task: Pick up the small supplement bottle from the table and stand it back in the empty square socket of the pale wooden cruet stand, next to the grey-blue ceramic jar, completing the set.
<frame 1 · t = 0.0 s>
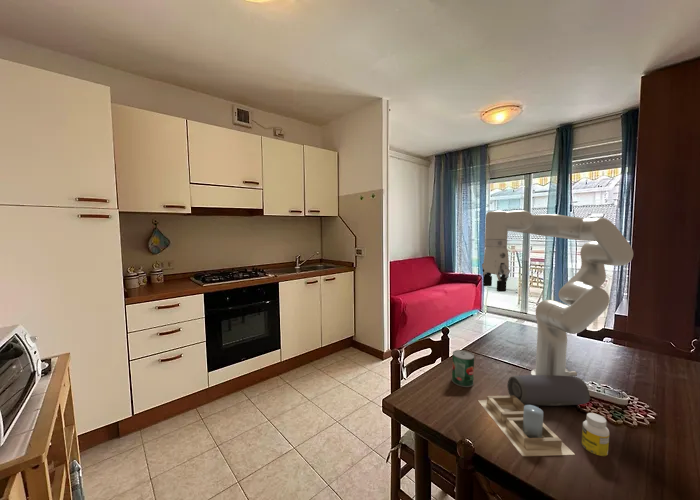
hand: (494, 288, 109), 37 cm above the table, tool pointing down, fingers open, 9 cm apart
canned tomato: (462, 382, 111), on the table
bluetooth speaker: (545, 405, 96), on the table, touching cruet stand
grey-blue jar: (532, 437, 80), point 1 cm above the table, touching cruet stand
cruet stand: (519, 427, 86), on the table
supplement bottle: (594, 452, 76), on the table
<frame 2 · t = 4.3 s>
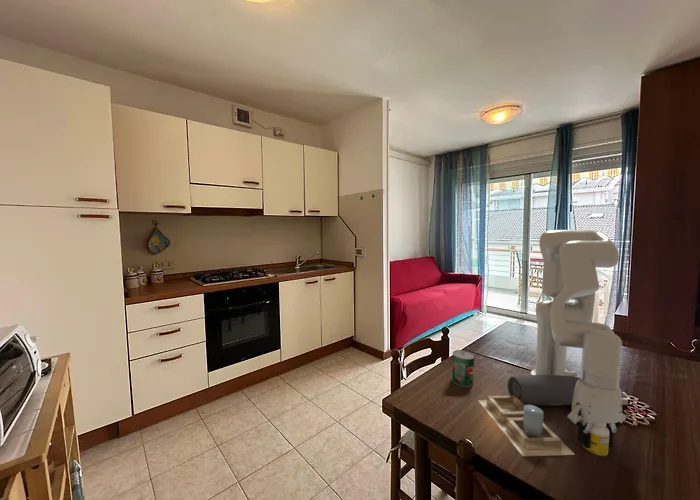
hand: (594, 443, 76), 3 cm above the table, tool pointing down, fingers closed on supplement bottle, 5 cm apart
supplement bottle: (594, 452, 76), on the table, touching gripper
everything else where it was.
when the fingers open (5 cm above the table, at t = 11.0 s): supplement bottle drops 2 cm, resting on cruet stand.
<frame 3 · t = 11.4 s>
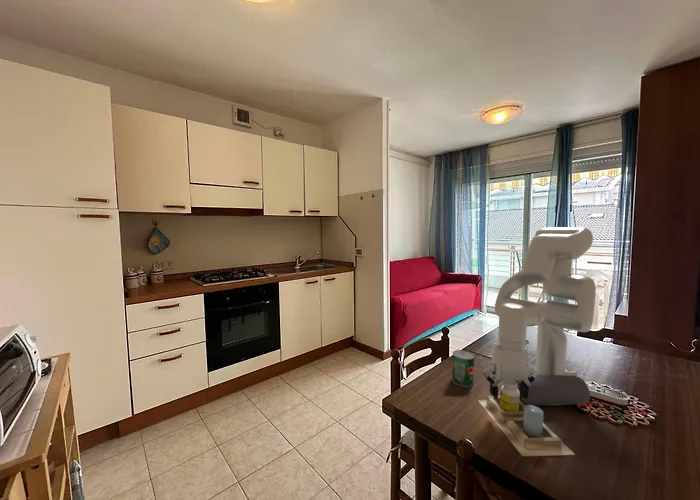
hand: (508, 396, 90), 7 cm above the table, tool pointing down, fingers open, 9 cm apart
bluetooth speaker: (546, 405, 97), on the table, touching cruet stand, gripper
supplement bottle: (508, 412, 91), point 1 cm above the table, touching cruet stand
everything else where it was.
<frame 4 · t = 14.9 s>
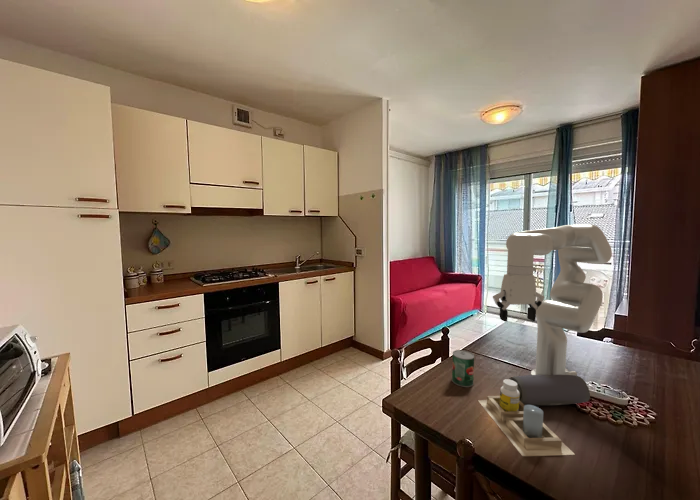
hand: (517, 320, 98), 28 cm above the table, tool pointing down, fingers open, 9 cm apart
bluetooth speaker: (546, 405, 96), on the table, touching cruet stand
everything else where it was.
at the end: supplement bottle 0.0 cm from the target spot, point 1.0 cm above the table; supplement bottle tilted 1°; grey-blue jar moved 0.0 cm from its start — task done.
